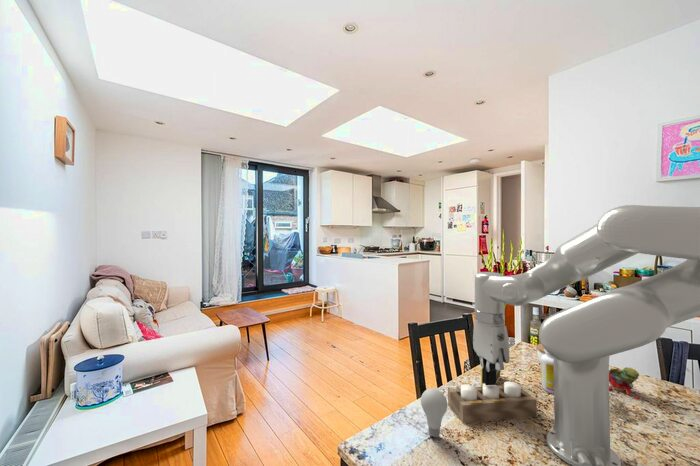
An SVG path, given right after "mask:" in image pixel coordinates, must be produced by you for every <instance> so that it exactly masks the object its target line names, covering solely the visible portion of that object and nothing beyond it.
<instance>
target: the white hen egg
mask: <svg viewBox="0 0 700 466" xmlns="http://www.w3.org/2000/svg"><path fill="white" fill-rule="evenodd" d="M503 385H504V393H505V394H506V395H507V396H509V397H510V398H516V397H521V389H522V387H521V385H520V384H519V383H516V382H513V381H504V383H503Z"/></svg>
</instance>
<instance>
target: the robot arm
mask: <svg viewBox="0 0 700 466" xmlns="http://www.w3.org/2000/svg"><path fill="white" fill-rule="evenodd" d="M597 221H598V222H597V224H595V225H593V226H591V227H589V228H588V229H586V230H584V231H583V232H580V233H579V234H577V235H576V236H573V237H572V238H570V239H569V240H567V241H565V242H563V243H561V244H560V245H558V246H557V248H556V250H555V251H554V253H553V255H552V256H550V257H549V258H548V259H546V260H545V261H543V262H542V263H540V264H538V265H536V266H535V267H533V268H531V269H529V270H527V271H525V272H523V273H519V274H518V273H517V274H514V275H512V274H511V275H503V274H502V273H500V272H495V271H494V272H492V271H480V272H477V273H476V274H475V275H474V323H473V330H472V331H473V332H472V333H473V334H472V344H473V346H472V347H473V350H474V352H475V354H476V355H477V356H478V357H479V359H480V367H481V371H482V382H483V383H484V384H485V385H496V386H497V382H496V371H498V370H500V371H504V370H505V367H504V366H505V365H504V364H509V363H510V342H509V334H508V329H507V326H506V325H505V324H506V323H505V321H506V319H505V318H506V317H505V314H506V313H505V310H506V309H505V308H506V305H505V304H507V305H509V306H514V307H521V306H524V305H527V304H530V303H533V302H535V301H538V300H540V299H543V298H544V297H547V296H549V295H551V294H553V293H555V292H557V291H559V290H562V289H563V288H565V287H568V286H569V285H572V284H574V283H576V282H579V281H583V280H585V279H587V278H589V277H592V276H593V275H596V274H598V273H600V272H601V271H604V270H605V269H608V268H610V267H612V266H614V265H616V264H619V263H621V262H623V261H624V260H627V259H630V258H631V257H634V256H635V255H637V254H642V255H643V254H644V255H649V256H657V257H659V256H660V257H667V258H674V259H675V258H676V259H682V260H683V259H684V260H685V261H683V262H681V263H679V264H677V265H675V266H671V267H669V268H667V269H665V270H663V271H661V272H659V273H657V274H655V275H652V276H649V277H647V278H644V279H642V280H640V281H636V282H634V283H631V284H628V285H626V286H625V285H623V286H620V287H617V288H614V289H611V290H609V291H607V292H605V293H603V294H600V295H599V296H595V297H593V298H591V299H589V300H587V301H584V302H582V303H579V304H577V305H575V306H572V307H567V308H564V309H561V310H560V311H557V312H556V313H554V314H552V315H550V316H548V317H547V318H545V319H544V320H543V321H542V323H541V325H540V327H539V331H538V336H539V337H538V338H539V341H540V344H542V346H543V347H544V349H545V350H546V351H547V352H548V353H549V354H550V355H552V356H553V357H554V394H553V410H554V412H553V413H554V414H553V416H554V417H553V420H554V429H550V430H549V431H548V432H547V433H546V444H547V446H548V447H549V449H550V450H551V452H553V453H554V454H555V455H556V456H557V457H558V458H560V459H561V460H563V461H564V462H565V463H567V464H568V465H571V466H622V464H621V463H622V461H621V458H620V457H619V456H618V454H617V453H616V452H615V451H614V450H613V449H612V448H611V420H610V419H611V418H610V391H609V387H610V382H609V373H610V372H609V370H610V356H613V355H616V354H620V353H621V354H622V353H624V352H628V351H630V350H631V351H632V350H634V349H638V348H640V347H643V346H646V345H649V344H650V343H653V342H655V341H656V340H658V339H659V338H661V336H662V335H663V334H664V333H665V332H666V330H667V329H668V328H669V327H671V326H674V325H677V324H680V323H682V322H685V321H686V322H687V321H688V320H691V319H694V318H698V317H700V206H671V205H670V206H667V205H666V206H664V205H661V206H660V205H642V204H641V205H640V204H639V205H638V204H637V205H636V204H626V205H620V206H617V207H613V208H611V209H610V210H607V211H606V212H605V213H603V214H602V215H601V217H600V218H599V219H598V220H597Z"/></svg>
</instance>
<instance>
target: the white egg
mask: <svg viewBox="0 0 700 466" xmlns="http://www.w3.org/2000/svg"><path fill="white" fill-rule="evenodd" d="M475 387H476V386H473V385H471V384H461V386H460V388H461V398H462V399H463V400H464V401H465V402H467V401H476V400H477V389H476V388H475Z"/></svg>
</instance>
